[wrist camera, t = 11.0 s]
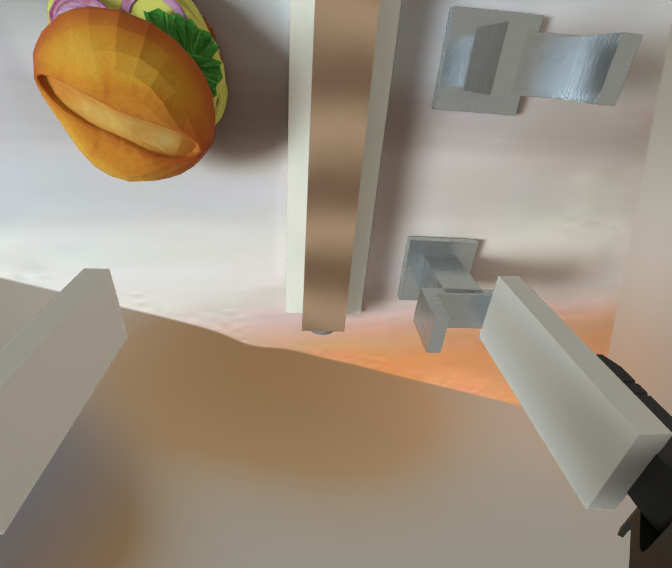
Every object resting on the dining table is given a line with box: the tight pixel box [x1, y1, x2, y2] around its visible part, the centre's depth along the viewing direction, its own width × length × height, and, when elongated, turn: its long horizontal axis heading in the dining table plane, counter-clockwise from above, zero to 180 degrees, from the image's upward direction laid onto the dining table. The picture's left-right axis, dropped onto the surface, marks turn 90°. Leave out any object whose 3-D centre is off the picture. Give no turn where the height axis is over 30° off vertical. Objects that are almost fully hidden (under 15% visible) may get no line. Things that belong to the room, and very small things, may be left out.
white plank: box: [286, 0, 402, 315], centre depth 30 cm, size 26×7×1 cm, turn 176°
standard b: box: [432, 6, 643, 115], centre depth 22 cm, size 6×6×10 cm
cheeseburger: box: [33, 0, 228, 181], centre depth 23 cm, size 10×11×10 cm
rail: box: [302, 0, 380, 335], centre depth 28 cm, size 26×4×4 cm, turn 176°
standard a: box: [398, 236, 494, 353], centre depth 30 cm, size 6×6×10 cm
